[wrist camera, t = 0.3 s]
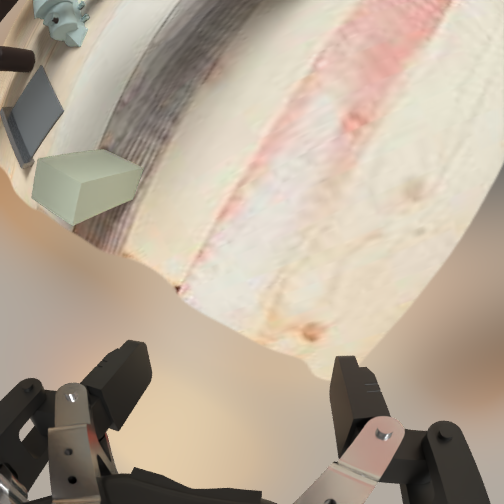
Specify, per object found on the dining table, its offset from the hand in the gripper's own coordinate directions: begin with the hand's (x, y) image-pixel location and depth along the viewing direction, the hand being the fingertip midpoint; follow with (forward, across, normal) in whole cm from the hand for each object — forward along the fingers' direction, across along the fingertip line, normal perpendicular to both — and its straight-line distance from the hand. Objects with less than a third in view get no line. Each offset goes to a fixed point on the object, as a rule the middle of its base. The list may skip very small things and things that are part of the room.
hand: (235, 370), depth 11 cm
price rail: (+22, +42, -19) cm, 51 cm away
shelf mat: (+21, +37, -22) cm, 48 cm away
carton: (+23, +19, -10) cm, 31 cm away
